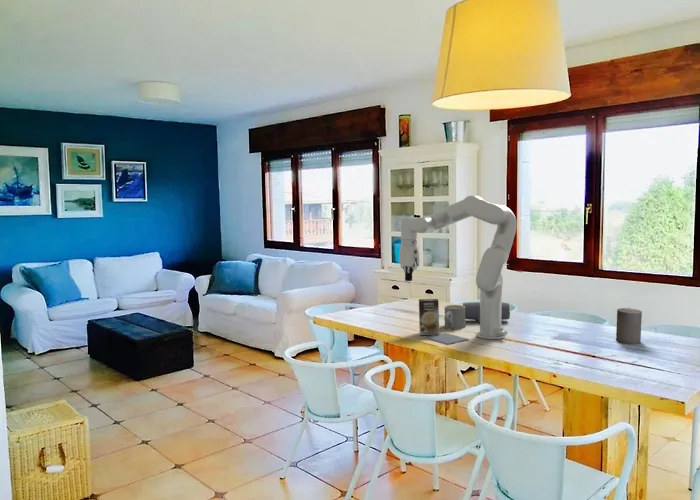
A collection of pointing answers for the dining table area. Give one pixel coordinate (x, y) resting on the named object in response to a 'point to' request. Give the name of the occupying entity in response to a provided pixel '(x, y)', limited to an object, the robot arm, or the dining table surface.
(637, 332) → the pillar candle
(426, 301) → the coffee box
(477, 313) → the bluetooth speaker
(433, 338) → the mat
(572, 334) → the dining table surface
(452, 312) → the coffee mug
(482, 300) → the robot arm
